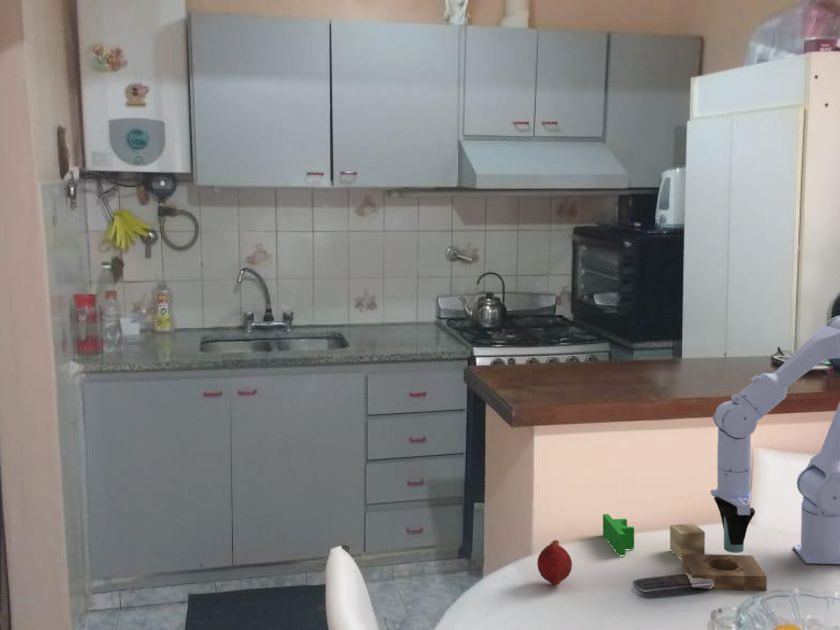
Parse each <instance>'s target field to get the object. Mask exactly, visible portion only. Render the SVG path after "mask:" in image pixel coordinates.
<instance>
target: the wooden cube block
mask: <svg viewBox="0 0 840 630" xmlns="http://www.w3.org/2000/svg"><path fill="white" fill-rule="evenodd" d="M669 527H670V528H669V532H670V533H669V538H670V539H669V550H670V549H671V550H672V551H673V552H674V553H675V554H676V555H677V556H678V557H680V558H681V559H683V554H698V555H706V553H705V551H706V549H705V546H706V545H705V544H706V541H705V539H706V532H705V531H704V530H703V529H701V528H700V527H699V526H698V525H696V524H695V523H694V522H692V523H681V524H680V523H679V524H670V526H669ZM674 553H673V554H674ZM675 554H674V555H675ZM676 555H675V556H676ZM677 556H676V557H677ZM678 557H677V558H678Z"/></svg>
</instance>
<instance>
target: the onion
mask: <svg viewBox="0 0 840 630" xmlns="http://www.w3.org/2000/svg"><path fill="white" fill-rule="evenodd" d="M536 564H537V565H536V566H537V569H538V572H539V574H540V576H541V577H542V578H543V579H544V580H545V581H547V582H548V583H549V584H552V585H554V586H558V585H559V584H560V583H562V581H564V580H566V579H567V578H568V577H569V576H570V573H572V572H571V571H572V568H573V562H572V559H571V556H570V554H569V553H568V551H567V550H566V549H565V548H564V547H562V546H561V545H560V541H559V540H558V539H553V540H552V541H551V542H550V543H549V545H546V546H545V547H544V548H543V550H541V552H540V553H539V554H538V558H537V563H536Z"/></svg>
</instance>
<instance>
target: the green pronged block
mask: <svg viewBox="0 0 840 630" xmlns="http://www.w3.org/2000/svg"><path fill="white" fill-rule="evenodd" d="M602 537H604V539H605V538H606V539H607V540H608V541H609V543H610V544H611V545H612V546H613V548H614V549H615V550H616V552H617V553H618V554H619V556H620V555H625V556H626V551H625V549H633V548H634V549H635V527H634V526H629V525H628V519H627V518H612V517H611V515H610V514H609V513H606V514H605V513H603V514H602ZM606 539H605V540H606ZM607 540H606V541H607ZM608 541H607V542H608ZM609 543H608V544H609ZM610 544H609V545H610ZM611 545H610V546H611ZM613 548H612V549H613ZM614 549H613V550H614ZM616 552H615V553H616ZM617 553H616V554H617ZM619 556H618V557H619Z"/></svg>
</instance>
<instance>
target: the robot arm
mask: <svg viewBox="0 0 840 630" xmlns="http://www.w3.org/2000/svg"><path fill="white" fill-rule="evenodd" d="M833 359H840V315H837V316H834V317H832V318H831V319H830V320H828V321H827V323H826V324H824V325H822V326H820V327H818V328H817V330H816V331H815V332H814V334H813V335H812V336H811V337H810V338H809V339H808V340H807V341H806V342H805V343H803V345H801V347H800V348H799V349H797V350H796V351H795V352H794V353H793V354H792V355H791V356H790V357H789V358H788V359H787V360H786V361H785V362H783V364H782V365H780V366H779V367H778V368H777V369H776V370H775V371H774V372H773V373H767V372H763V373H761V374H760V375H759V376H758V374H754V376H753V377H751V379H750V380H751V382H750V384H749V385H747V386H746V387H745V388H744V389H743V390H741V391H740V392H739V393H738V394H733V395H732V396H731V397H730V399H731V400H728V401H724V402H722V403H721V404H719V405H718V406H717V407H716V409H715V412H714V414H713V415H712V420H713V422H714V424H715V426H716V427H717V478H716V479H717V481H716V482H717V488H716V489H710V495H711V496H712V497H713V499H714V502H715V504H716V506H717V508H718V511H719V515H720V517H721V518H720V519H721V524H722V528H723V530H724V516H725V519H726V523H727V528H728V536H729V541H730V543H731V545H743V542H745V538H746V535H747V530H748V528H749V524H750V522H751V521H752V519H753V517H754V516H755V513H756V510H755V509H754V507H751V504H750V503H751V500H752V497H753V492H752V491H751V490H752V489H751V488H752V486H751V485H752V472H751V471H752V444H751V437H752V436H751V435H752V434H753V433H755V430H756V428H757V425H758V421H759V420H761V419H762V418H763V417H765V416H766V415H767V414H768V413H769V412H770V411H772V410H773V409H774V408H775V407H777V405H779V404H780V403H781V402H782V401H784V400H785V399H786V397H787V395H788V387H790V385H792V384H794V382H796V381H797V380H799V379H800V378H801V377H803V376H804V375H805V374H807V373H808V372H809V371H811V370H812V369H814V367H816V366H817V365H819V364H821V362H822V361H825V360H833ZM796 487H797V490H798V492H799V493H800V495H802V502H801V513H800V514H801V519H800V521H801V522H800V524H801V525H800V544H793V546H792V548H793V549H794V550H795V551H796V552H797V554H798V555H799V556H800V558H801V559H802V560H803V561H804V562H805V563H806V564H815V565H816V564H817V565H824V564H825V565H840V401H839V403H838V405H837V408H836V410H835V412H834V416H833V419H832V420H831V424H830V425H829V428H828V431H827V433H826V436H825V439H824V441H823V443H822V447H821V449H820V451H819V452H818V453H816V455H813V457H811V458H810V460H809V462H808V465H807V466H806V467H805V468H804V469H803V470H802V471H800V473H799V475H798V477H797V478H796Z"/></svg>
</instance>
